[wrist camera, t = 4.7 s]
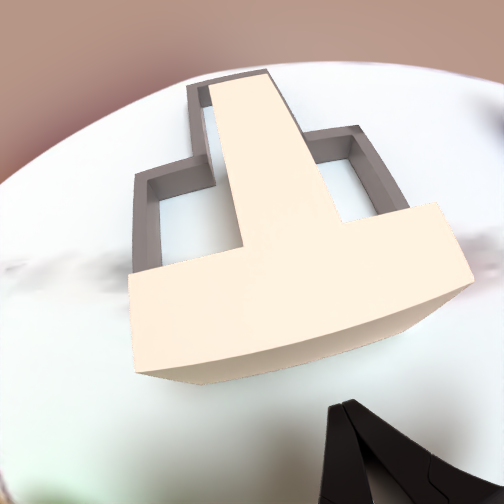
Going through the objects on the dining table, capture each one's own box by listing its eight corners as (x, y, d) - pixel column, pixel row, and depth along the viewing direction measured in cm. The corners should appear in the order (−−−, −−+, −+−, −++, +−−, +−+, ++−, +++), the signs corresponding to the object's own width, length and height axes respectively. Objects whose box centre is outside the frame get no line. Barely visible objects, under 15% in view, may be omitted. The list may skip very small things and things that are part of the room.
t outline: (401, 235, 18) (413, 214, 16) (150, 295, 18) (133, 280, 16) (309, 82, 27) (309, 63, 25) (150, 117, 27) (143, 99, 25)
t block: (403, 331, 15) (475, 280, 8) (201, 385, 15) (135, 372, 8) (326, 153, 22) (333, 66, 15) (177, 187, 22) (139, 105, 15)
